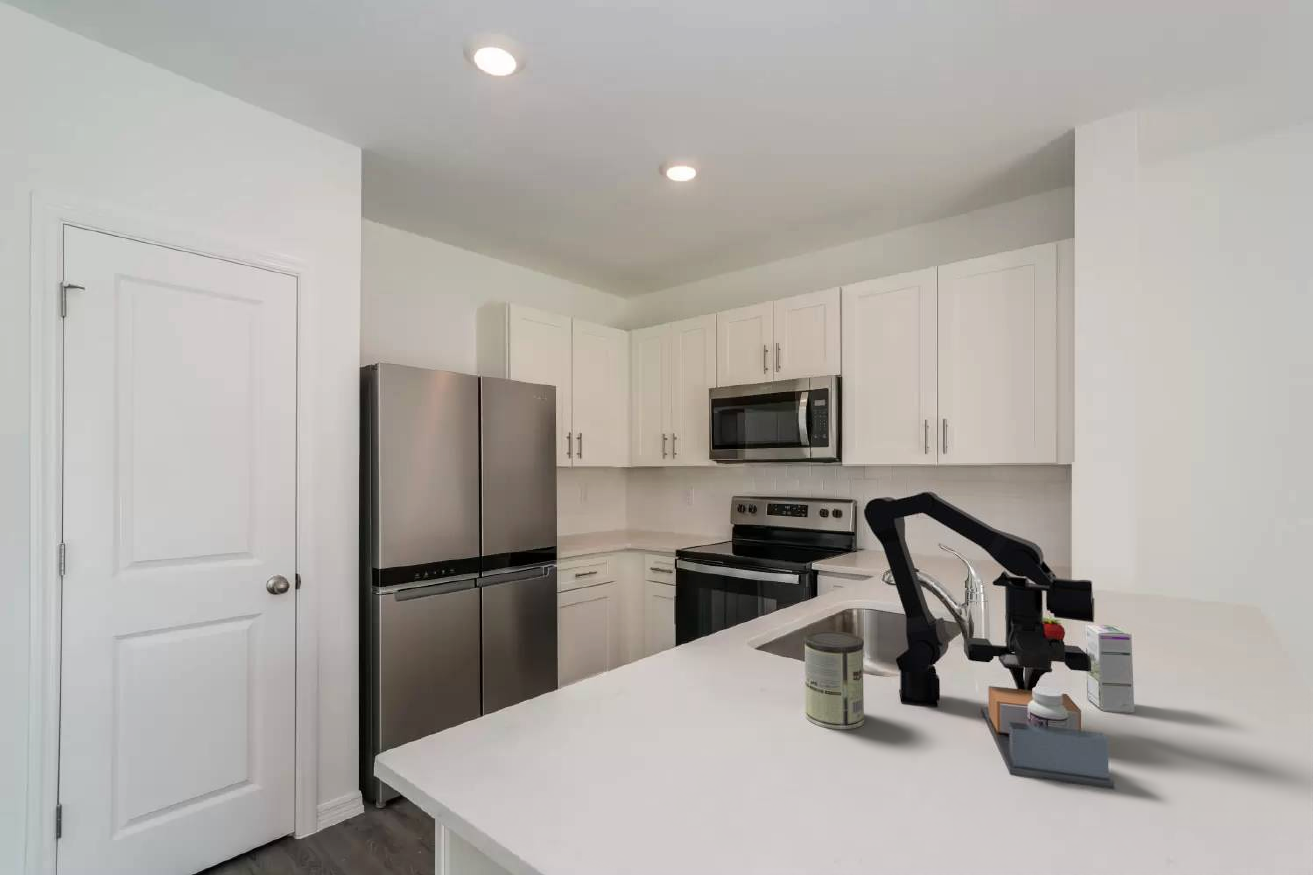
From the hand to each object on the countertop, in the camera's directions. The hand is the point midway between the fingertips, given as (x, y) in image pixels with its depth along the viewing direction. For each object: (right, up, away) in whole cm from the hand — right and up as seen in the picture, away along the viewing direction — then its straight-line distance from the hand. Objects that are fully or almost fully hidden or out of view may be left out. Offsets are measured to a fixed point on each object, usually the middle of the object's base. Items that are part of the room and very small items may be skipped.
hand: (1025, 702), depth 112 cm
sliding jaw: (-2, -2, -5) cm, 6 cm away
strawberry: (+29, -5, +40) cm, 49 cm away
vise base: (-3, -3, -9) cm, 10 cm away
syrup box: (+20, -4, +8) cm, 22 cm away
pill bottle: (-5, -2, -14) cm, 15 cm away
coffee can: (-33, -4, +2) cm, 33 cm away
